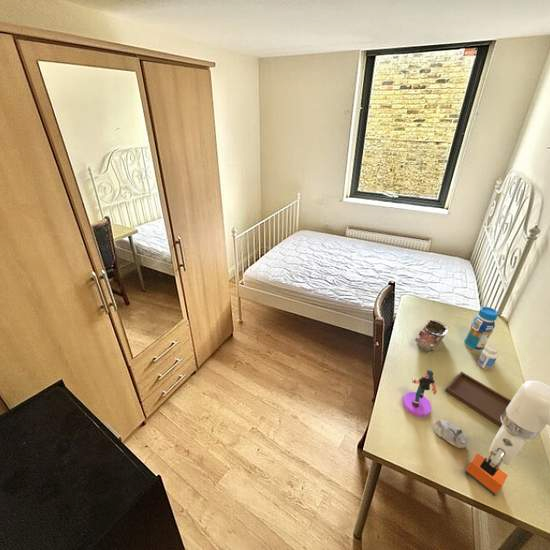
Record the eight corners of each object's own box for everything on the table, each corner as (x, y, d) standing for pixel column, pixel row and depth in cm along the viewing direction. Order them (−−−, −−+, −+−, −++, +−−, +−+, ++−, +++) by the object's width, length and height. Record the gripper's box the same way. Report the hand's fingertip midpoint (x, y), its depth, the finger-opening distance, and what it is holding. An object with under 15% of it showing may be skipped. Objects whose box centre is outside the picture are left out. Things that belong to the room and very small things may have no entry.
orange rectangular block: (499, 485, 86) (507, 475, 83) (494, 496, 83) (502, 486, 80) (470, 462, 91) (477, 452, 88) (464, 472, 88) (471, 462, 86)
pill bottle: (492, 365, 127) (501, 348, 122) (490, 372, 123) (499, 355, 118) (478, 358, 130) (486, 342, 125) (475, 365, 126) (483, 348, 122)
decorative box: (455, 345, 137) (462, 329, 132) (434, 364, 126) (441, 347, 122) (428, 330, 146) (433, 315, 141) (406, 347, 135) (411, 331, 131)
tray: (515, 407, 108) (517, 404, 107) (502, 428, 101) (504, 425, 100) (459, 374, 122) (461, 371, 121) (444, 391, 114) (446, 388, 113)
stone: (468, 437, 98) (470, 433, 97) (462, 454, 93) (465, 449, 92) (437, 419, 104) (439, 415, 102) (431, 434, 99) (433, 429, 97)
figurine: (423, 395, 112) (437, 361, 103) (434, 417, 104) (450, 383, 95) (399, 394, 112) (410, 361, 104) (408, 416, 104) (421, 382, 95)
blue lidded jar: (462, 337, 142) (477, 303, 133) (482, 342, 139) (499, 308, 130) (464, 347, 136) (479, 313, 126) (485, 353, 133) (502, 318, 123)
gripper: (528, 456, 67) (496, 493, 75) (547, 414, 76) (518, 451, 85) (491, 431, 72) (466, 468, 80) (514, 395, 81) (489, 431, 90)
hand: (492, 459), depth 82 cm, fingers open, 9 cm apart
